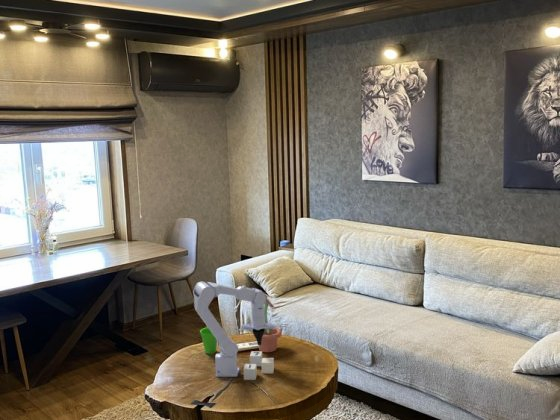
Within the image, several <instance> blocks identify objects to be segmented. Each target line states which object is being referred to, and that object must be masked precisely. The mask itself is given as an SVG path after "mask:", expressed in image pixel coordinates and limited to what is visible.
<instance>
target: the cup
mask: <svg viewBox="0 0 560 420" xmlns="http://www.w3.org/2000/svg"><path fill="white" fill-rule="evenodd" d="M199 333H200V335H201V339H202V344H203V348H204V353H206V354H208V355H212V354H215V353H217V347H218V343H217V340H216V338H215V337H214V335H213V334H212V332H211V331H210V330H209V328H208V327H207V326H206V327H204V328H203V327H202V329H200V330H199Z"/></svg>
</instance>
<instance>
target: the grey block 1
mask: <svg viewBox="0 0 560 420" xmlns="http://www.w3.org/2000/svg"><path fill="white" fill-rule="evenodd" d="M257 376H258V366H257V365H256V364H250V363H245V364H244V367H243V380H245V381H256V379H257Z"/></svg>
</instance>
